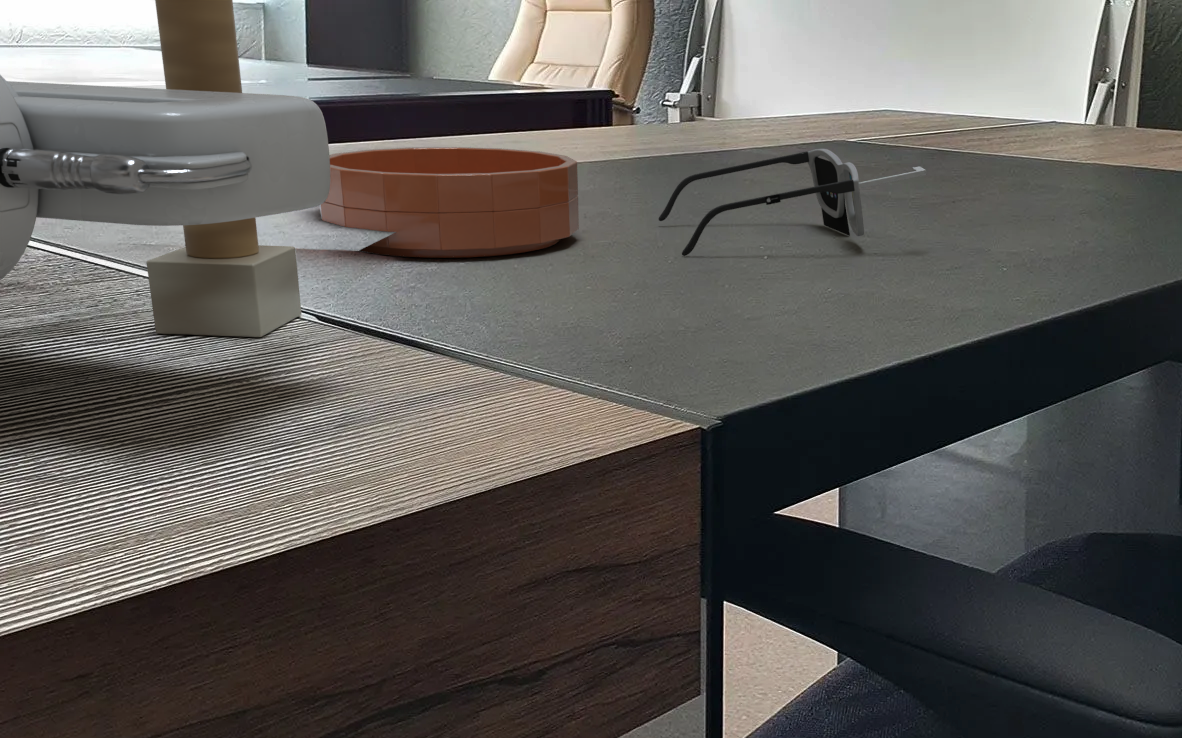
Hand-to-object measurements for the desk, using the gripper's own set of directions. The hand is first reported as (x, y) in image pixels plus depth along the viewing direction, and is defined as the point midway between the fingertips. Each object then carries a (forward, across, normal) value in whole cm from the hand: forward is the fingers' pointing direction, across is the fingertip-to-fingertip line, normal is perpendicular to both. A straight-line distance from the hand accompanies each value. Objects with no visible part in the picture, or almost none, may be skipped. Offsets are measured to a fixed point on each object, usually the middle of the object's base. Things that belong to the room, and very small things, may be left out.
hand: (178, 126), depth 54 cm
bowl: (+25, +2, +8) cm, 26 cm away
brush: (+2, 0, +8) cm, 8 cm away
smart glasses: (+33, -16, +8) cm, 37 cm away
